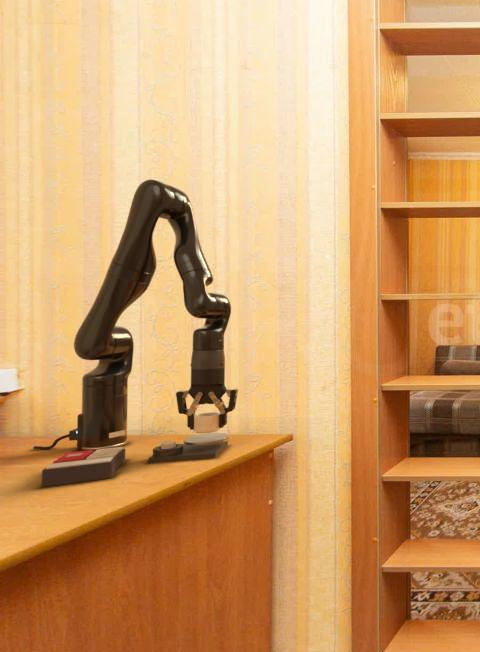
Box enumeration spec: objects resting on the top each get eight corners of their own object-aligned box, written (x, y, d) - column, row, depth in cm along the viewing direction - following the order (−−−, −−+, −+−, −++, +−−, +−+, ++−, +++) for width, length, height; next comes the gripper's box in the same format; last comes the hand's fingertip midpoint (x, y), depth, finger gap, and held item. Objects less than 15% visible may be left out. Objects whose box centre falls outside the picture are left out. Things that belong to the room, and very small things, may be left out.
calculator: (126, 445, 109) (112, 458, 97) (125, 462, 109) (111, 478, 96) (64, 451, 103) (41, 466, 91) (64, 469, 103) (40, 487, 90)
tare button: (158, 450, 109) (158, 444, 109) (163, 447, 112) (163, 441, 112) (173, 449, 110) (173, 443, 110) (177, 446, 113) (177, 440, 113)
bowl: (190, 434, 114) (190, 417, 114) (197, 429, 120) (198, 412, 120) (217, 433, 116) (217, 416, 116) (223, 427, 122) (223, 411, 122)
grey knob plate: (148, 463, 107) (148, 451, 107) (167, 449, 118) (167, 438, 118) (215, 458, 112) (215, 446, 112) (227, 445, 123) (227, 435, 123)
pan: (177, 446, 112) (177, 444, 112) (191, 436, 121) (191, 434, 121) (223, 443, 115) (223, 441, 115) (232, 434, 124) (233, 432, 124)
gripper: (242, 364, 124) (241, 423, 124) (181, 365, 119) (180, 426, 119) (235, 367, 117) (234, 429, 117) (170, 368, 112) (169, 433, 112)
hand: (207, 428), depth 118 cm, fingers closed on bowl, 6 cm apart
